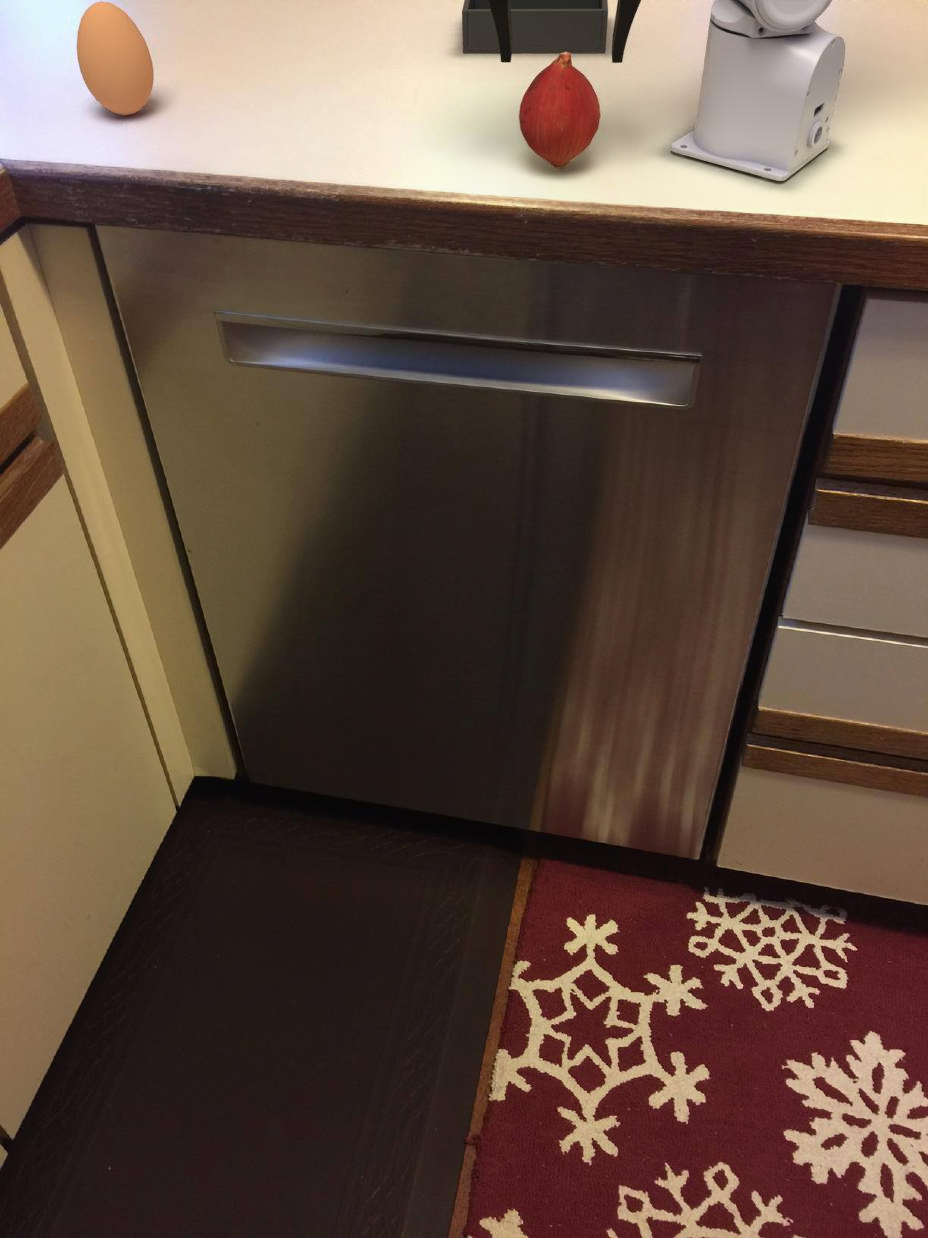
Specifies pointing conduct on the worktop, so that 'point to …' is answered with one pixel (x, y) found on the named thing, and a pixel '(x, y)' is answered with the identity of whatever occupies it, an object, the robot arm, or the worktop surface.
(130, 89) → the egg
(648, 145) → the worktop surface
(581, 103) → the onion
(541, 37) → the bin
